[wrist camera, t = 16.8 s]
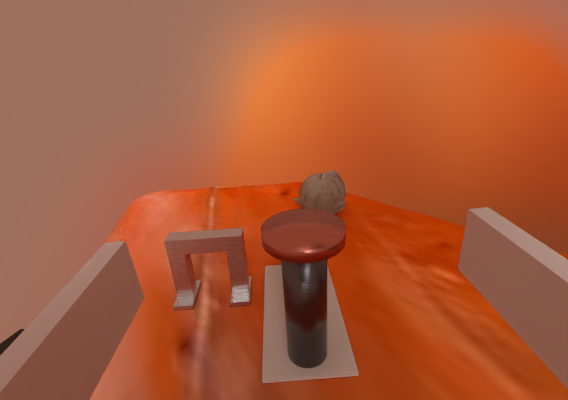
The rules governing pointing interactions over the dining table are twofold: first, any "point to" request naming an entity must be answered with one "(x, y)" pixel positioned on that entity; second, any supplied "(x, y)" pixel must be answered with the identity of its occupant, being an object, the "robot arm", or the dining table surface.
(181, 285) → the grey u-shaped bracket
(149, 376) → the dining table surface
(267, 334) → the pad
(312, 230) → the hook
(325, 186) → the grey round lumpy ball
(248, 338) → the dining table surface
